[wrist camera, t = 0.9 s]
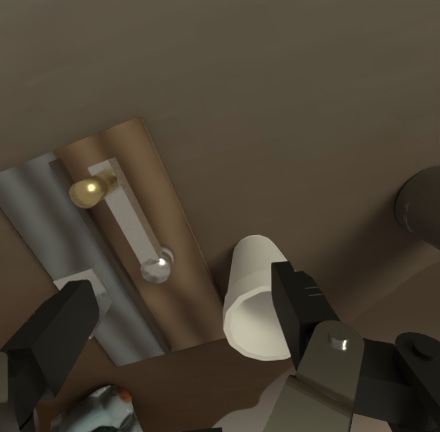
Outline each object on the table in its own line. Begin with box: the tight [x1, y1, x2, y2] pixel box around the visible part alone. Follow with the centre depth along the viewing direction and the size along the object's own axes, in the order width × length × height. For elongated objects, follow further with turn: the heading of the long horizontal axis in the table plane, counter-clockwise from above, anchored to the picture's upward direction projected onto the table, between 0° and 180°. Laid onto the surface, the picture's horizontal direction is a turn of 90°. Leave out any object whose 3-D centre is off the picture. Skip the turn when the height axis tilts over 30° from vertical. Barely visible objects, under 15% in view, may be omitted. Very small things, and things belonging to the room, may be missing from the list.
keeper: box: [53, 264, 112, 339], centre depth 33 cm, size 6×7×6 cm
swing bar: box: [69, 157, 173, 283], centre depth 27 cm, size 16×4×7 cm, turn 20°
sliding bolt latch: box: [0, 117, 226, 367], centre depth 35 cm, size 21×34×3 cm, turn 20°
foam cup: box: [223, 235, 296, 361], centre depth 30 cm, size 10×9×13 cm
